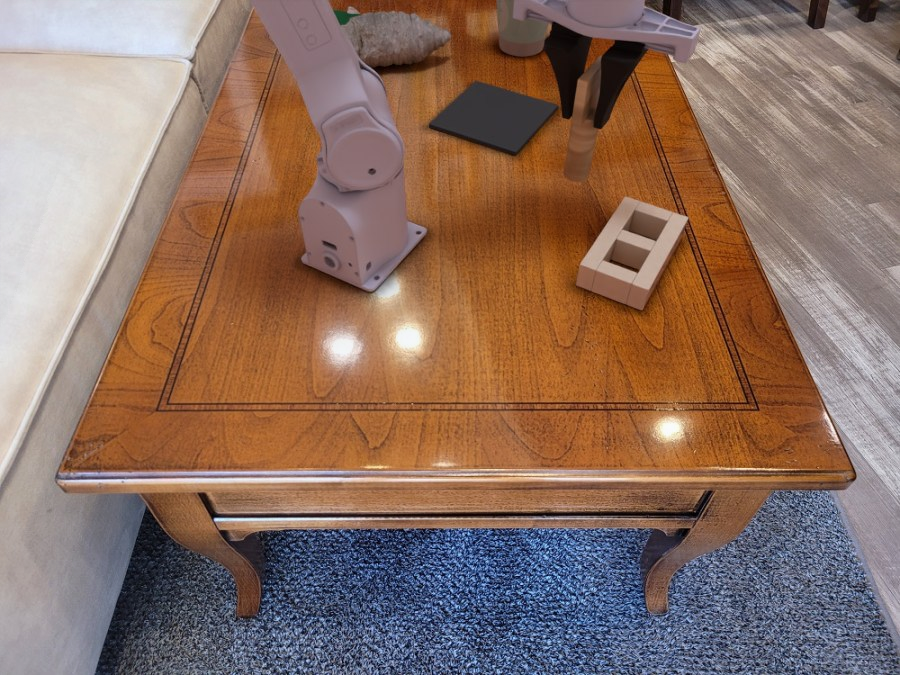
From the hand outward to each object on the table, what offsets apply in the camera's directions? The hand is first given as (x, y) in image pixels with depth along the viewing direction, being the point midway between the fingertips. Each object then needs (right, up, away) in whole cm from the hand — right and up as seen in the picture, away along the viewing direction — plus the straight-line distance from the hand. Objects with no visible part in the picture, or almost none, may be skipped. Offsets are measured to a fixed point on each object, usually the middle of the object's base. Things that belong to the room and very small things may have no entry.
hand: (585, 118), depth 59 cm
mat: (-7, +6, +19) cm, 21 cm away
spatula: (0, -4, +4) cm, 6 cm away
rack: (+5, -12, +3) cm, 13 cm away
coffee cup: (-2, +19, +30) cm, 36 cm away
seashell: (-19, +16, +28) cm, 37 cm away
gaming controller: (-27, +20, +31) cm, 46 cm away
